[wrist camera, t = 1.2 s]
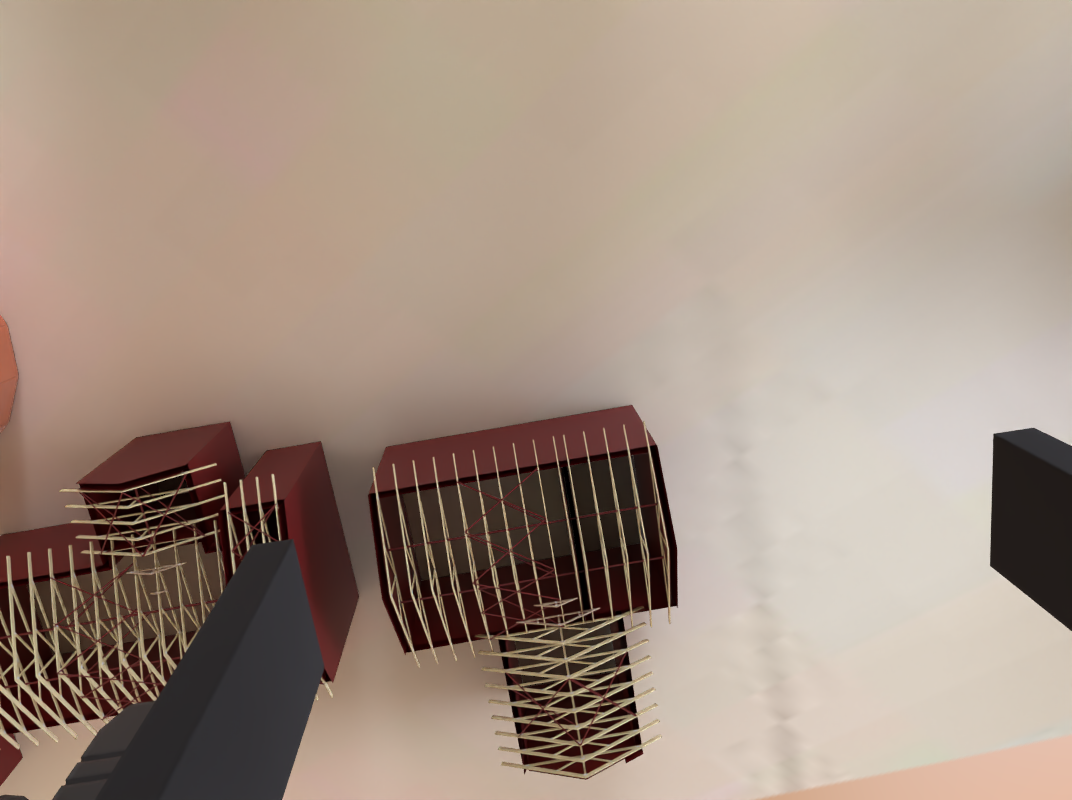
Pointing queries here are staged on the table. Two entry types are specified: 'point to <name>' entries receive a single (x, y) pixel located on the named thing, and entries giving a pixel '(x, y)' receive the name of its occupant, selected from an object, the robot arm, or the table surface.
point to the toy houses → (350, 576)
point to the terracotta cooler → (6, 375)
